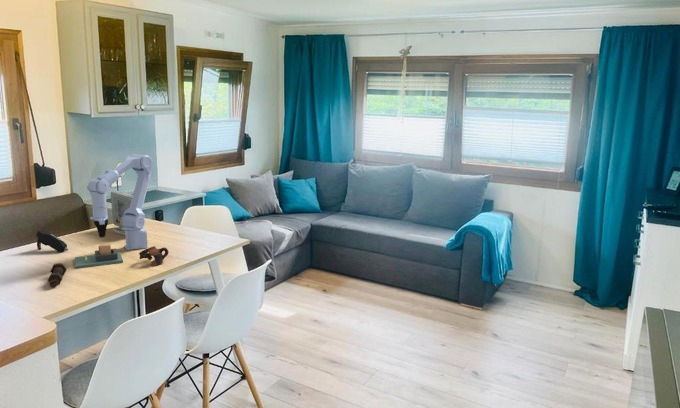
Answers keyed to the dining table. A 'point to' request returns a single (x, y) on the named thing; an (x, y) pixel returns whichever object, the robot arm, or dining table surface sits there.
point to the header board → (99, 259)
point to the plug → (104, 249)
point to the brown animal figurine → (154, 255)
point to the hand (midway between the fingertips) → (102, 236)
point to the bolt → (56, 274)
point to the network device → (119, 207)
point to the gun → (50, 241)
